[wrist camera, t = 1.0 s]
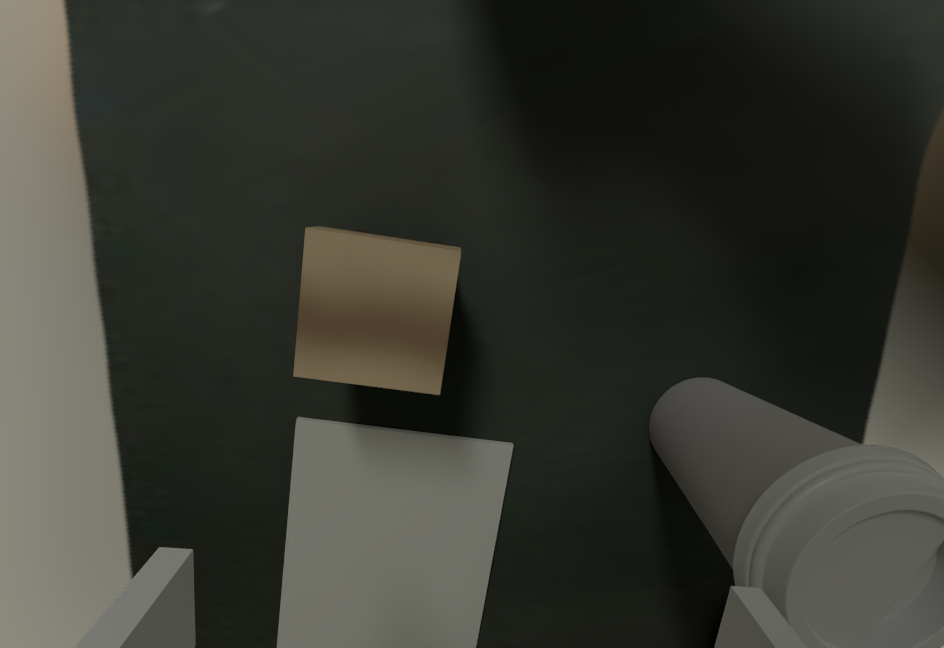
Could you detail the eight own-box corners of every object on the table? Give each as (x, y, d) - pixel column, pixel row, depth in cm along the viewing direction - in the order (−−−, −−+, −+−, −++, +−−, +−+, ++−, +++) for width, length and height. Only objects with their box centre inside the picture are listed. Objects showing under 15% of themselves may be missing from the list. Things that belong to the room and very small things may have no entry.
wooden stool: (340, 223, 30) (305, 227, 22) (458, 241, 30) (461, 251, 23) (329, 337, 31) (293, 376, 24) (441, 352, 32) (440, 395, 24)
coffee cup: (677, 513, 35) (842, 730, 20) (597, 416, 33) (715, 578, 18) (792, 430, 34) (1052, 595, 19) (716, 325, 32) (940, 420, 17)
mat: (298, 416, 32) (296, 419, 32) (512, 443, 33) (513, 445, 33) (278, 650, 36) (276, 655, 36) (471, 666, 37) (471, 671, 37)
